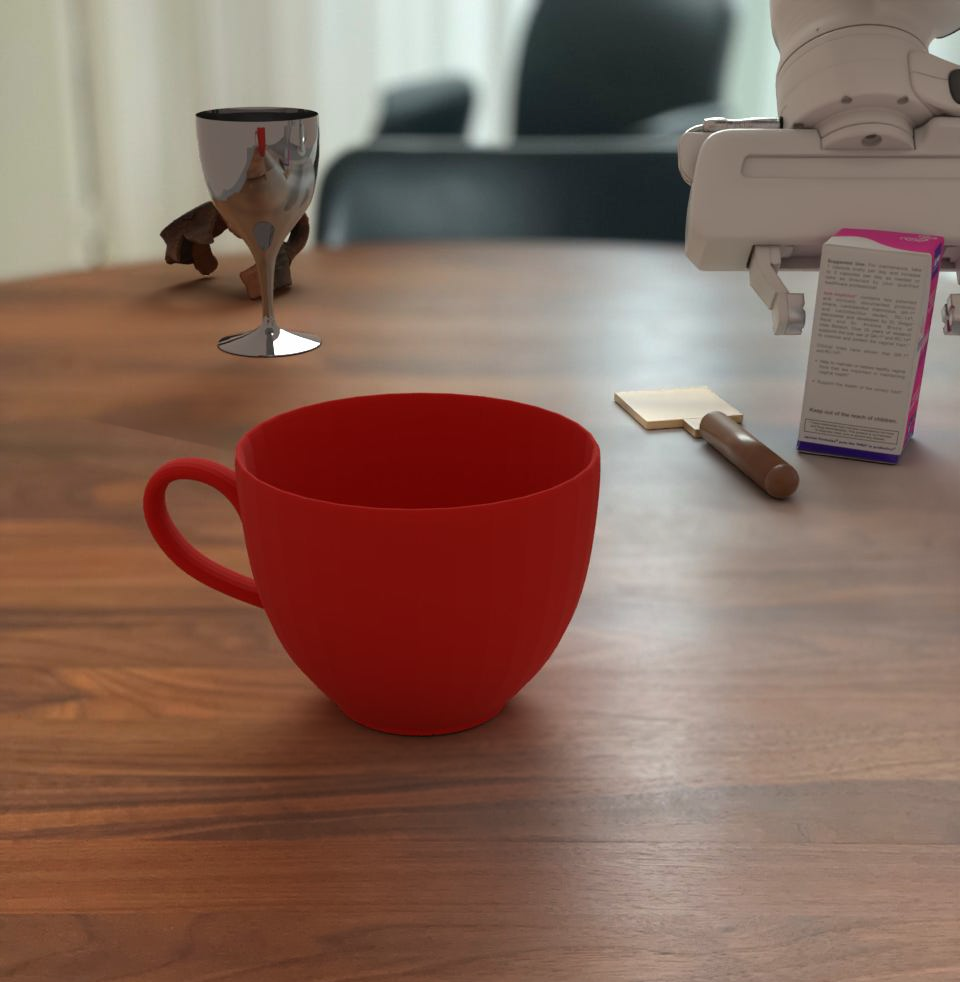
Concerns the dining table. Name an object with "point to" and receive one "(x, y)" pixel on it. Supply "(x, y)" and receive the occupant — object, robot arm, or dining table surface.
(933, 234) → the robot arm
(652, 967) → the dining table surface
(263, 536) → the ceramic cup
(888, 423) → the supplement box
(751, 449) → the spatula
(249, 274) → the brown irregular piece
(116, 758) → the dining table surface
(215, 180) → the wine glass
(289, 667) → the dining table surface
